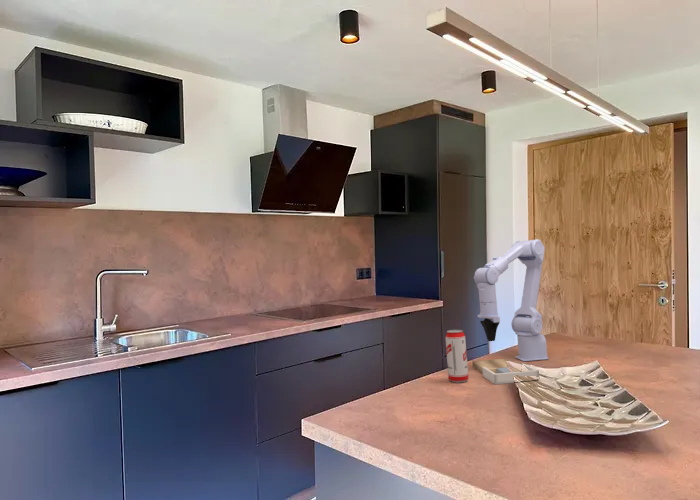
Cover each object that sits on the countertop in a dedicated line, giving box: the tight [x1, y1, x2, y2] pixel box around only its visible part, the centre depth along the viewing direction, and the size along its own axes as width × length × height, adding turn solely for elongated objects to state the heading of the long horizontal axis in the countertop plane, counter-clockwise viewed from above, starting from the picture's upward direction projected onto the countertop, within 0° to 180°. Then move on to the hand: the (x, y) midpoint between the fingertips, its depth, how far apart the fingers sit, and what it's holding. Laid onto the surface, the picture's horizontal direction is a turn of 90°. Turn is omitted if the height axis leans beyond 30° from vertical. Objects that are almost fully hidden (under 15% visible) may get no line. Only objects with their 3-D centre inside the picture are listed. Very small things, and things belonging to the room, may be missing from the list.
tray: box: [482, 362, 540, 385], centre depth 155 cm, size 14×11×3 cm
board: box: [471, 358, 510, 375], centre depth 168 cm, size 12×14×2 cm
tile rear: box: [497, 367, 509, 374], centre depth 158 cm, size 4×4×2 cm
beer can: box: [445, 329, 469, 384], centre depth 157 cm, size 6×6×16 cm
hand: (491, 340), depth 171 cm, fingers closed
